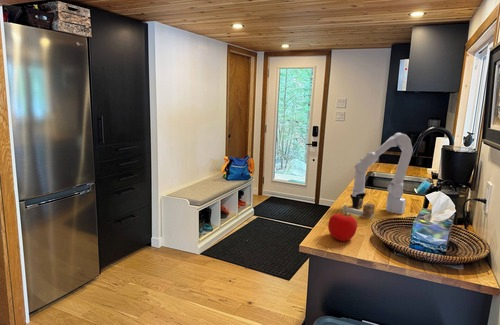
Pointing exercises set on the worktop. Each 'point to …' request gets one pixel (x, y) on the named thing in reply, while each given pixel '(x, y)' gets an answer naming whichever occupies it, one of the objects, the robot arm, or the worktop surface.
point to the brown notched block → (359, 204)
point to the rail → (354, 211)
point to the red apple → (342, 226)
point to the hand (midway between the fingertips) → (357, 206)
